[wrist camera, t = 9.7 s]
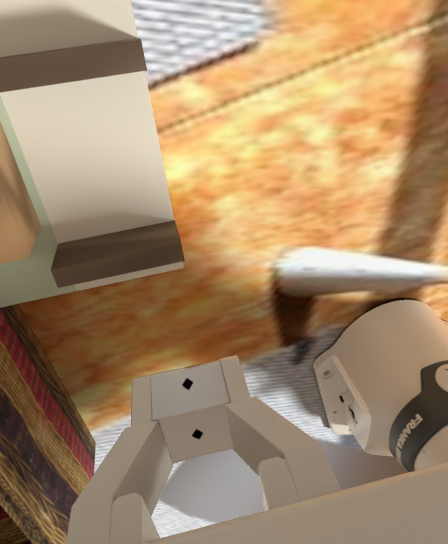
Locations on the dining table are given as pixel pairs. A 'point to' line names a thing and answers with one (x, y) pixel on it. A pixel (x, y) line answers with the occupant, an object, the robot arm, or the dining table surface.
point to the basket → (37, 440)
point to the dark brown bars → (113, 246)
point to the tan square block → (14, 209)
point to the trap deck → (79, 143)
